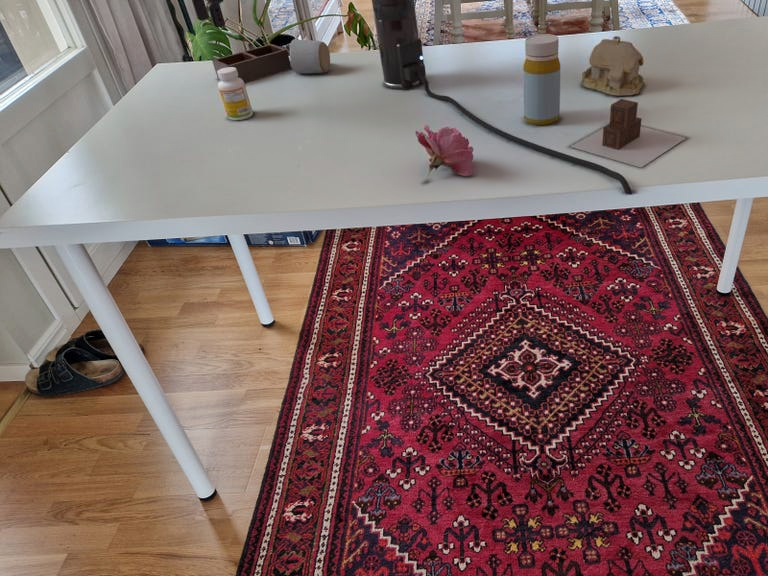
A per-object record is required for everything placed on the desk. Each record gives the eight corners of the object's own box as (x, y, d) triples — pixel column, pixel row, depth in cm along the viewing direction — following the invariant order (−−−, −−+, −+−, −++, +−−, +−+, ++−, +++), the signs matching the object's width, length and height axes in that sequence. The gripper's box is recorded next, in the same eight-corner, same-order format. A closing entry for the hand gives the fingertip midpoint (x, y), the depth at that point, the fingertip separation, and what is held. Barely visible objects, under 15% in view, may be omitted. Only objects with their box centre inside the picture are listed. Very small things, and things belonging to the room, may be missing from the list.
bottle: (536, 129, 124) (535, 46, 114) (518, 118, 129) (516, 38, 119) (566, 120, 127) (568, 39, 117) (547, 110, 131) (547, 31, 121)
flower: (452, 172, 120) (480, 126, 115) (459, 200, 113) (490, 153, 108) (397, 145, 115) (424, 96, 109) (402, 173, 108) (431, 123, 102)
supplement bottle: (234, 111, 143) (220, 66, 136) (257, 111, 142) (243, 65, 136) (224, 121, 139) (208, 74, 132) (247, 120, 138) (233, 73, 132)
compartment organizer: (291, 68, 164) (287, 49, 161) (232, 86, 156) (226, 66, 153) (275, 62, 169) (271, 43, 166) (217, 79, 161) (211, 60, 158)
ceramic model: (653, 83, 139) (659, 33, 132) (630, 100, 133) (635, 48, 126) (595, 74, 146) (598, 26, 139) (571, 89, 139) (572, 40, 133)
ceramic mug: (325, 76, 157) (318, 43, 152) (293, 77, 158) (285, 44, 153) (337, 63, 165) (331, 31, 160) (307, 64, 166) (299, 32, 161)
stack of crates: (641, 167, 109) (645, 128, 105) (570, 147, 117) (571, 109, 113) (686, 138, 117) (692, 100, 112) (616, 120, 125) (619, 84, 120)
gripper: (216, -73, 116) (243, 25, 126) (188, -79, 124) (215, 13, 135) (176, -67, 112) (207, 33, 123) (149, -73, 121) (180, 21, 132)
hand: (211, 23), depth 129 cm, fingers open, 8 cm apart
